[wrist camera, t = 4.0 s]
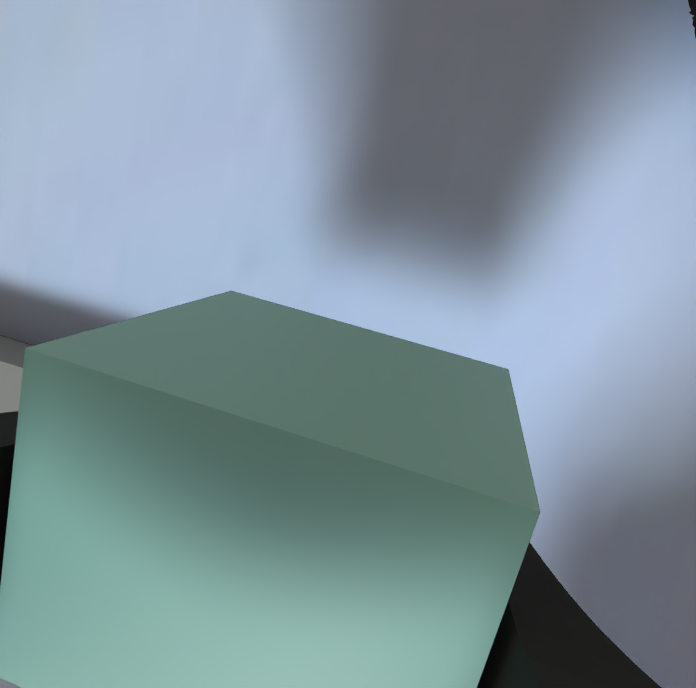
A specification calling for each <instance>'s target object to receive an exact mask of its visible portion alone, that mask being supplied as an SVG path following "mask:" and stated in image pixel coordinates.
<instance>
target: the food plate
mask: <svg viewBox="0 0 696 688" xmlns="http://www.w3.org/2000/svg"><path fill="white" fill-rule="evenodd" d="M688 3H689V6H690V9H691V10H692V11H691V12H689V13H690V14H692V15H694V16H693V18H692V19H693V24H692V25H693V26H694V27H695V37H696V0H688Z"/></svg>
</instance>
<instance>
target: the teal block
mask: <svg viewBox="0 0 696 688" xmlns="http://www.w3.org/2000/svg"><path fill="white" fill-rule="evenodd" d="M539 514H540V509H539V504H538V500H537V495H536V491H535V486H534V482H533V477H532V473H531V468H530V464H529V459H528V455H527V450H526V446H525V441H524V437H523V432H522V428H521V423H520V419H519V414H518V410H517V405H516V401H515V396H514V392H513V387H512V383H511V379H510V374H509V370H508V369H506V368H502V367H499V366H495V365H492V364H488V363H485V362H481V361H477V360H474V359H470V358H467V357H463V356H460V355H456V354H453V353H449V352H446V351H442V350H439V349H435V348H432V347H428V346H425V345H421V344H418V343H414V342H411V341H407V340H403V339H400V338H396V337H393V336H389V335H386V334H382V333H379V332H375V331H372V330H368V329H365V328H361V327H358V326H354V325H351V324H347V323H344V322H340V321H336V320H333V319H329V318H326V317H322V316H319V315H315V314H312V313H308V312H305V311H301V310H298V309H294V308H291V307H287V306H284V305H280V304H277V303H273V302H270V301H266V300H262V299H259V298H255V297H252V296H248V295H245V294H241V293H238V292H234V291H228V292H225V293H221V294H218V295H214V296H210V297H207V298H203V299H200V300H196V301H192V302H189V303H185V304H182V305H178V306H174V307H171V308H167V309H164V310H160V311H156V312H153V313H149V314H146V315H142V316H138V317H135V318H131V319H128V320H124V321H120V322H117V323H113V324H110V325H106V326H103V327H99V328H95V329H92V330H88V331H85V332H81V333H77V334H74V335H70V336H67V337H63V338H59V339H56V340H52V341H49V342H45V343H41V344H38V345H34V346H31V347H27V348H25V354H24V364H23V373H22V383H21V393H20V402H19V412H18V422H17V431H16V441H15V451H14V460H13V470H12V479H11V489H10V499H9V508H8V518H7V528H6V537H5V547H4V557H3V566H2V576H1V586H0V678H2V679H4V680H6V681H9V682H11V683H13V684H16V685H18V686H19V687H21V688H477V686H478V683H479V680H480V677H481V674H482V672H483V669H484V666H485V663H486V661H487V658H488V655H489V652H490V650H491V647H492V644H493V641H494V638H495V636H496V633H497V630H498V627H499V625H500V622H501V619H502V616H503V613H504V611H505V608H506V605H507V602H508V600H509V597H510V594H511V591H512V589H513V586H514V583H515V580H516V577H517V575H518V572H519V569H520V566H521V564H522V561H523V558H524V555H525V552H526V550H527V547H528V544H529V541H530V539H531V536H532V533H533V530H534V528H535V525H536V522H537V519H538V516H539Z"/></svg>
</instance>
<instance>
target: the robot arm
mask: <svg viewBox="0 0 696 688" xmlns="http://www.w3.org/2000/svg"><path fill="white" fill-rule="evenodd" d="M18 412H19V411H14V412H4V413H0V586H1V576H2V566H3V557H4V547H5V537H6V528H7V518H8V508H9V499H10V489H11V479H12V470H13V460H14V451H15V441H16V431H17V422H18ZM0 688H21V687H19V686H18V685H16V684H13V683H11V682H9V681H6V680H4V679H2V678H0ZM477 688H661V687H660V686H659V685H658V684H657V683H655V682H654V681H653V680H652V679H651V678H650V677H649V676H648V675H646V674H645V673H644V672H643V671H642V670H641V669H640V668H639V667H638V666H637V665H635V664H634V663H633V662H632V661H631V660H630V659H629V658H628V657H627V656H626V655H625V654H624V653H623V652H622V651H621V650H620V649H619V648H618V647H617V646H616V645H615V644H614V643H613V642H612V641H611V640H610V639H609V638H608V637H607V636H606V635H605V634H604V633H603V632H602V631H601V630H600V629H599V628H598V627H597V626H596V625H595V623H594V622H593V621H592V620H591V619H590V618H589V617H588V616H587V615H586V613H585V612H584V611H583V610H582V609H581V608H580V606H579V605H578V604H577V603H576V602H575V601H574V599H573V598H572V597H571V596H570V595H569V594H568V592H567V591H566V590H565V589H564V587H563V586H562V585H561V584H560V582H559V581H558V580H557V579H556V577H555V576H554V575H553V573H552V572H551V571H550V570H549V568H548V567H547V566H546V564H545V563H544V562H543V560H542V559H541V557H540V556H539V555H538V553H537V552H536V551H535V549H534V548H533V546H532V545H531V544H530V542H529V544H528V547H527V550H526V552H525V555H524V558H523V561H522V564H521V566H520V569H519V572H518V575H517V577H516V580H515V583H514V586H513V589H512V591H511V594H510V597H509V600H508V602H507V605H506V608H505V611H504V613H503V616H502V619H501V622H500V625H499V627H498V630H497V633H496V636H495V638H494V641H493V644H492V647H491V650H490V652H489V655H488V658H487V661H486V663H485V666H484V669H483V672H482V674H481V677H480V680H479V683H478V686H477Z"/></svg>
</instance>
